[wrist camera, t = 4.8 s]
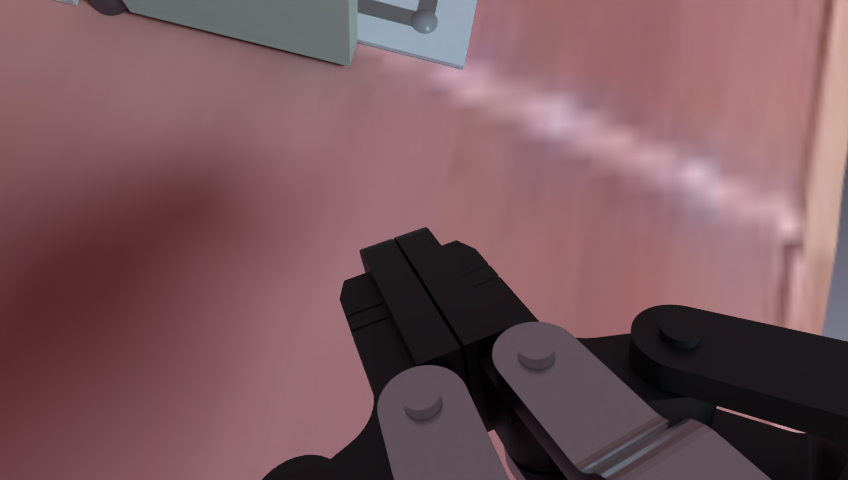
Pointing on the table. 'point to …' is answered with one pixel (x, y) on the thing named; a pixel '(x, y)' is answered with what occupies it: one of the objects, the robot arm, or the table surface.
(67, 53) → the table surface
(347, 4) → the swing panel
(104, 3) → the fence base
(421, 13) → the card
